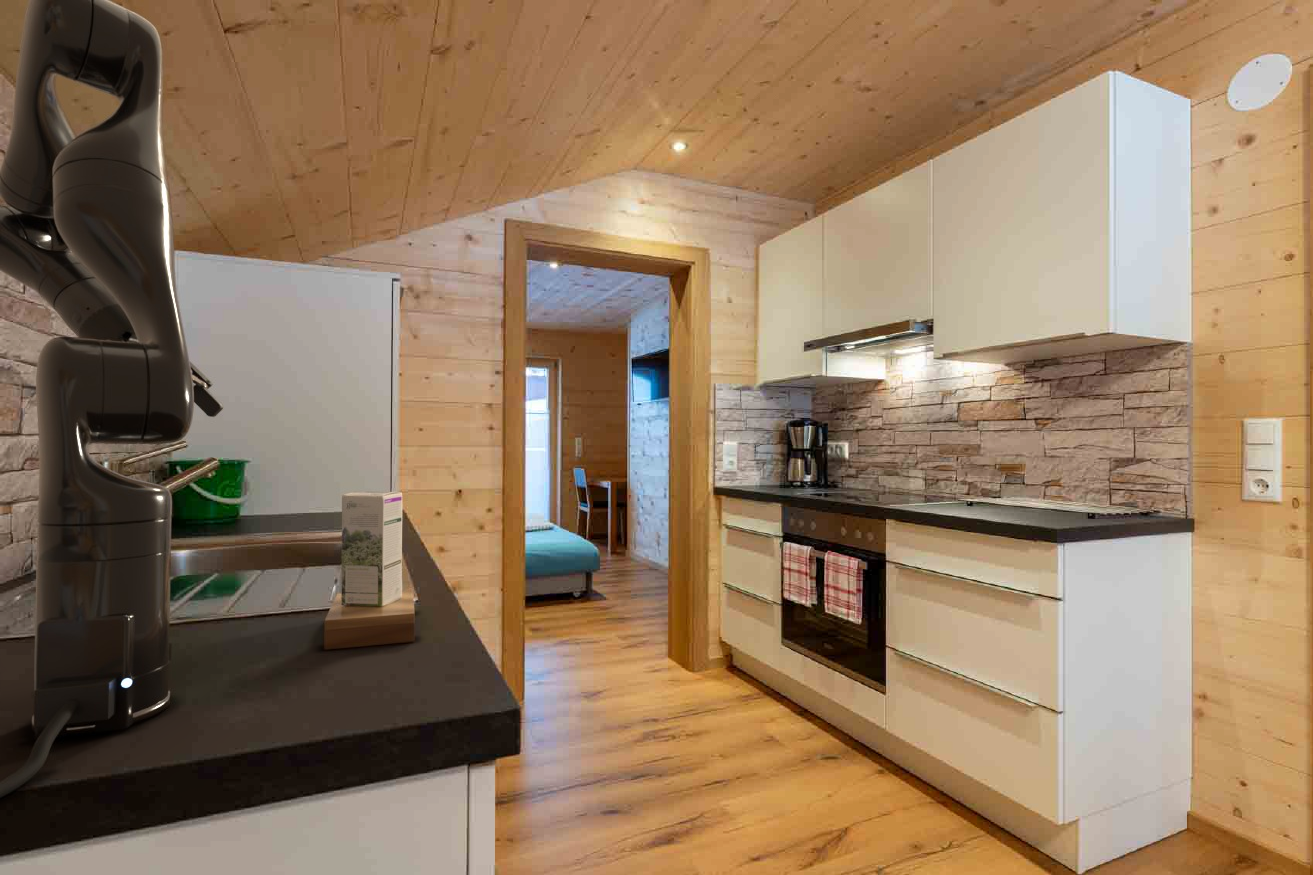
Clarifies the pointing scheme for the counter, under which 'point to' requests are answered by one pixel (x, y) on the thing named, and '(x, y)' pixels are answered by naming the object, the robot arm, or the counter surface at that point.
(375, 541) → the syrup box
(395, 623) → the shelf
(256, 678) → the counter surface
